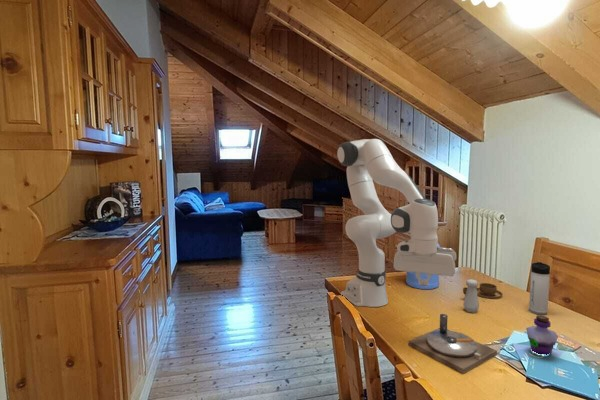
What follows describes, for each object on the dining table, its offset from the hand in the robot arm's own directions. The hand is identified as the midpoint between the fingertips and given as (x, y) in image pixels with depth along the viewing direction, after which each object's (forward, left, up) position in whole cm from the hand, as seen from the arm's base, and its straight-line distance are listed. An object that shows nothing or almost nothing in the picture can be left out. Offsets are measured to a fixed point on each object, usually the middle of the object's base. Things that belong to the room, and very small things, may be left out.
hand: (423, 285), depth 124 cm
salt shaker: (-3, +34, -19) cm, 39 cm away
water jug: (-35, +44, -19) cm, 59 cm away
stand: (+11, 0, -19) cm, 22 cm away
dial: (+11, 0, -17) cm, 20 cm away
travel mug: (+13, +55, -19) cm, 60 cm away
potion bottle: (+28, +22, -19) cm, 41 cm away
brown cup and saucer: (-11, +54, -20) cm, 59 cm away
